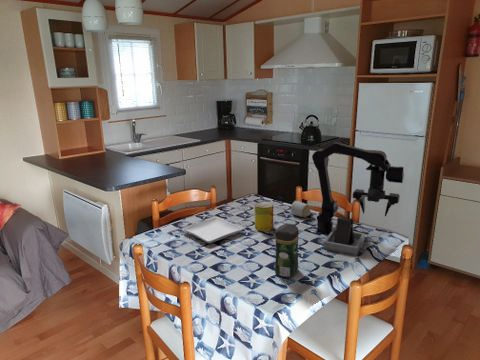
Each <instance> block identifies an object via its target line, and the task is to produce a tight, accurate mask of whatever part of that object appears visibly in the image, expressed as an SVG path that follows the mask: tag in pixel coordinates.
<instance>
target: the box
mask: <svg viewBox="0 0 480 360" xmlns="http://www.w3.org/2000/svg"><path fill="white" fill-rule="evenodd" d="M335 232H336V228H333V230H332V231H331V233H330V234H329V235H328V234H327V237H326V238H325V240H324V241H323V247H322V248H323V250H326V251H332V252H335V253H341V254H346V255H351V256H356V257H357V256H358V255H359V252H360V250H361V249H362V247H363V245H364V244H365V238H366V233H362V232H357V231H354V243H352V244H351V245H344V244H339V243H334V238H335Z"/></svg>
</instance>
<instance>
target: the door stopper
mask: <svg viewBox="0 0 480 360" xmlns="http://www.w3.org/2000/svg"><path fill="white" fill-rule="evenodd" d="M335 229H336V232H335V238H334V243H339V244H344V245H351V244H352V243H354V232H355V231H354V218H350V217H345V216H340V215H338V217H337V220H336V228H335Z"/></svg>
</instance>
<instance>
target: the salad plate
mask: <svg viewBox="0 0 480 360" xmlns="http://www.w3.org/2000/svg"><path fill="white" fill-rule="evenodd" d="M243 229H244V228H243V227H241V226H239V225H237V224H235V223H232V222H230V221H228V220H226V219H224V218H223V219H222V218H221V217H218V216H216V217H212V218H209V219H206V220H202V221H199V222H197V223H194V224H191V225H188V226H185V227H183V228H182V230H183V231H184V232H185V233H188V234H189V235H192V236H193V237H196V238H198V239H200V240H202V242H206V243H207V244H213V243H215V242H217V241H220V240H223V239H225V238H229V237H232V236H234V235H236V234H238V233H241V231H243ZM228 236H229V237H228Z"/></svg>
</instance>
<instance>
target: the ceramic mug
mask: <svg viewBox="0 0 480 360" xmlns="http://www.w3.org/2000/svg"><path fill="white" fill-rule="evenodd" d="M290 213H291V215H294V216H297V217H301V218H307V217H309V215H310V214H311V213H312V210H311V207H310V205H309V204H307V203H304V202H302V201H299V200H294V201H293V202H292V204H291V206H290Z"/></svg>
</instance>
